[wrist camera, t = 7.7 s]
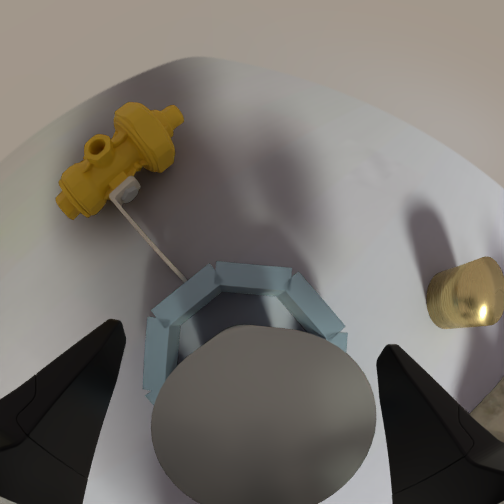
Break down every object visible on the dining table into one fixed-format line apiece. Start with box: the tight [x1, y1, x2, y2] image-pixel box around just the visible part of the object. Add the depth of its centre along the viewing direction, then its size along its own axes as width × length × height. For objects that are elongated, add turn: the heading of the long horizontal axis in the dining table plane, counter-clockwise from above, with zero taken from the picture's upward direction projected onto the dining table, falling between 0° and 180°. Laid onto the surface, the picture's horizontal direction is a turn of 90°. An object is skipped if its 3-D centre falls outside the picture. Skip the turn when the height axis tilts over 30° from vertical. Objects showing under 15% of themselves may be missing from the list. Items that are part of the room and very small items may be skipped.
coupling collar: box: [143, 261, 348, 405], centre depth 14 cm, size 10×10×3 cm
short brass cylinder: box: [426, 257, 504, 329], centre depth 15 cm, size 5×5×5 cm
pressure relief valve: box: [56, 102, 188, 283], centre depth 16 cm, size 6×12×10 cm
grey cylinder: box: [151, 325, 376, 504], centre depth 10 cm, size 4×4×12 cm
